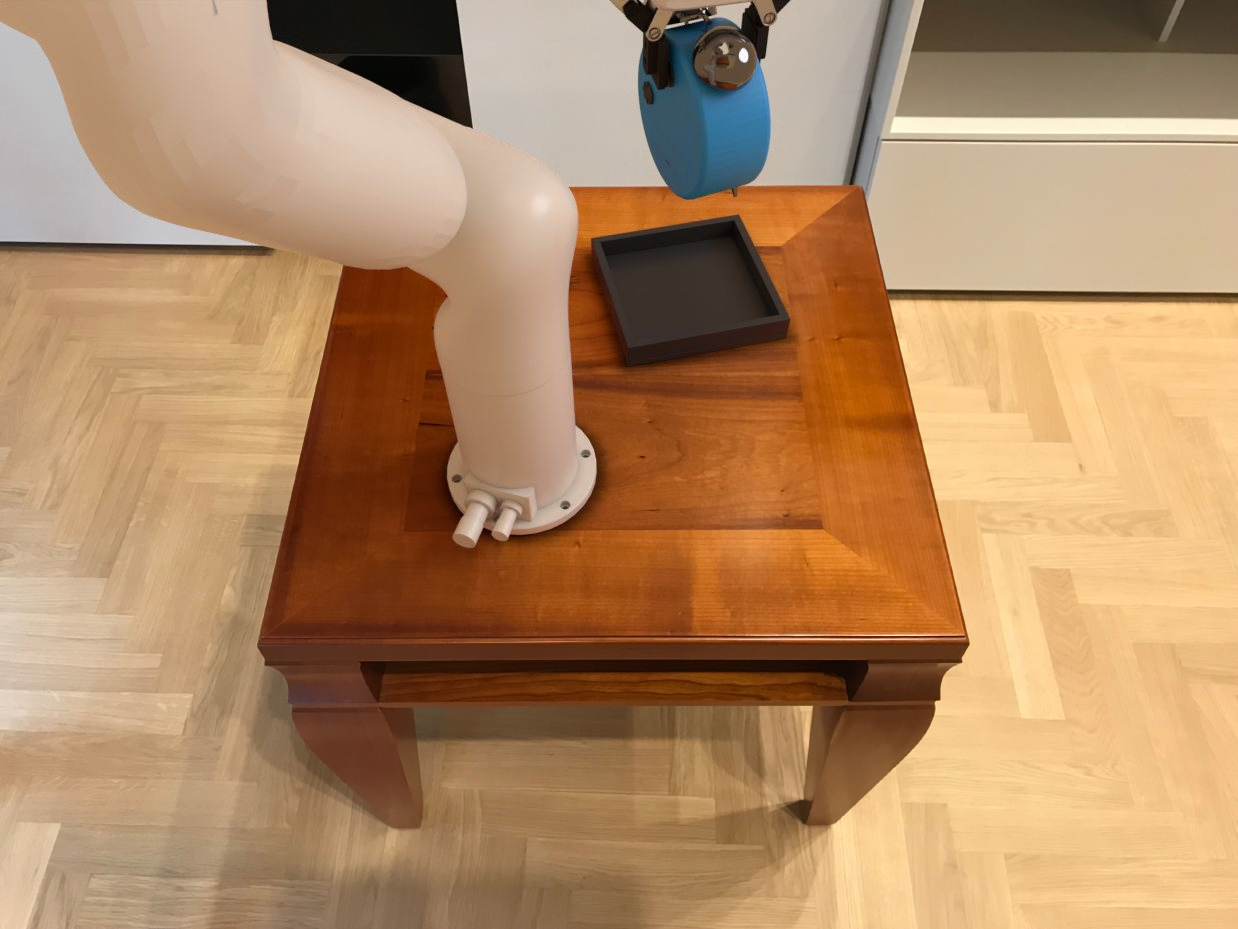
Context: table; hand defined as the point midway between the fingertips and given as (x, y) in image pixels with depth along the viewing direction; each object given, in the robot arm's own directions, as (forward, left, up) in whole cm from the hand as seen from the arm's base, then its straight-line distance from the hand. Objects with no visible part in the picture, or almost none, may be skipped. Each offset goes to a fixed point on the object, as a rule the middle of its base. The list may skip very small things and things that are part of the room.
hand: (703, 72), depth 74 cm
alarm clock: (0, 0, -10) cm, 10 cm away
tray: (0, 0, -24) cm, 24 cm away
